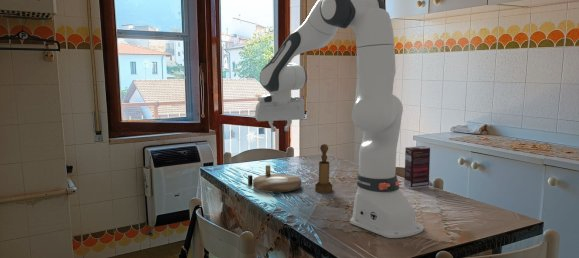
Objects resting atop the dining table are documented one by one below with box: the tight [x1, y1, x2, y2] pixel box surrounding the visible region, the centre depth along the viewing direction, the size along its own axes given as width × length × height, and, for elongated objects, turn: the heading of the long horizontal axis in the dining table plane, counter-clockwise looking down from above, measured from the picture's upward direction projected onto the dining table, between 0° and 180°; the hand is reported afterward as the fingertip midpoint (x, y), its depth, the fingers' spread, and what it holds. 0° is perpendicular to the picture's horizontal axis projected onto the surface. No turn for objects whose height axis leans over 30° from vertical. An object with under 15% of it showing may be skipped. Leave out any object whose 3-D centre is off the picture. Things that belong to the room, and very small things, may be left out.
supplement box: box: [403, 145, 431, 190], centre depth 162 cm, size 9×5×16 cm, turn 109°
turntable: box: [252, 164, 302, 193], centre depth 162 cm, size 19×19×6 cm
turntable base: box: [247, 174, 254, 187], centre depth 163 cm, size 15×15×4 cm
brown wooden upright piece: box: [314, 143, 333, 194], centre depth 157 cm, size 7×6×18 cm
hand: (280, 131), depth 168 cm, fingers open, 4 cm apart
